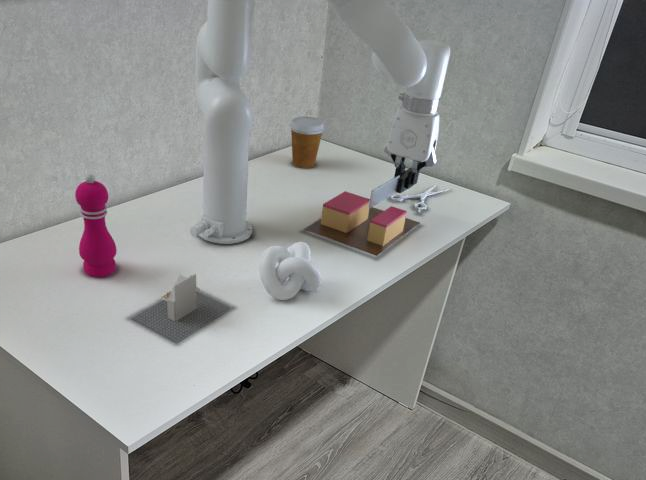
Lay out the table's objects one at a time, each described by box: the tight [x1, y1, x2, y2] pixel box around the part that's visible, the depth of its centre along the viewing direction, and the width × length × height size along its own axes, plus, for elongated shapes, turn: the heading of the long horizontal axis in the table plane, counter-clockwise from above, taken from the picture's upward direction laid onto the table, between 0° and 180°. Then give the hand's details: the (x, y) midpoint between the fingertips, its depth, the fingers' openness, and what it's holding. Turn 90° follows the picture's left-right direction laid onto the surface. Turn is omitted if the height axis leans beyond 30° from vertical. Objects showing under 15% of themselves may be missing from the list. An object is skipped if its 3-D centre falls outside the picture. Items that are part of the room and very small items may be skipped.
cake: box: [320, 191, 370, 233], centre depth 150 cm, size 10×7×5 cm
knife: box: [369, 166, 421, 209], centre depth 145 cm, size 22×2×4 cm, turn 144°
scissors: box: [389, 184, 450, 213], centre depth 167 cm, size 11×1×20 cm
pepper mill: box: [74, 173, 117, 278], centre depth 124 cm, size 7×7×20 cm
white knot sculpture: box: [259, 241, 322, 301], centre depth 124 cm, size 11×12×9 cm
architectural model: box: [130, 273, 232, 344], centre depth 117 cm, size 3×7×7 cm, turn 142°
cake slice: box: [367, 205, 408, 246], centre depth 145 cm, size 10×4×5 cm, turn 143°
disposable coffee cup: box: [289, 116, 326, 169], centre depth 179 cm, size 10×10×12 cm
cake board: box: [303, 206, 421, 257], centre depth 151 cm, size 22×19×1 cm
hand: (404, 184), depth 150 cm, fingers closed on knife, 2 cm apart
